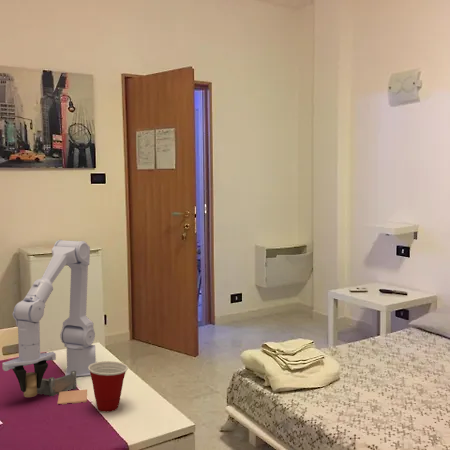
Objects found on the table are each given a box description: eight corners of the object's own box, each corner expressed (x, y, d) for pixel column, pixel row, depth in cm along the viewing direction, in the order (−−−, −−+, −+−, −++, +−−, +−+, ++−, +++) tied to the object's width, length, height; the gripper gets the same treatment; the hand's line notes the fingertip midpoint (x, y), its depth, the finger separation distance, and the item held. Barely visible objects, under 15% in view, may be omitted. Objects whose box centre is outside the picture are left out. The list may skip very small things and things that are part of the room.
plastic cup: (134, 410, 144) (133, 368, 143) (95, 419, 139) (94, 375, 138) (120, 396, 154) (120, 356, 153) (84, 404, 148) (83, 363, 147)
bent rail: (76, 387, 160) (76, 370, 160) (76, 394, 155) (75, 377, 155) (29, 391, 157) (29, 374, 157) (27, 398, 152) (26, 381, 151)
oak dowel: (35, 391, 153) (35, 371, 153) (38, 395, 150) (37, 375, 149) (22, 393, 151) (22, 373, 151) (24, 398, 148) (24, 377, 148)
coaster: (87, 391, 158) (87, 389, 157) (86, 402, 150) (86, 400, 150) (59, 393, 156) (59, 391, 156) (57, 404, 148) (57, 403, 148)
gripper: (48, 334, 157) (49, 378, 158) (-2, 344, 147) (-1, 391, 149) (58, 340, 151) (59, 385, 153) (6, 350, 142) (8, 399, 143)
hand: (30, 389), depth 150 cm, fingers closed on oak dowel, 4 cm apart
